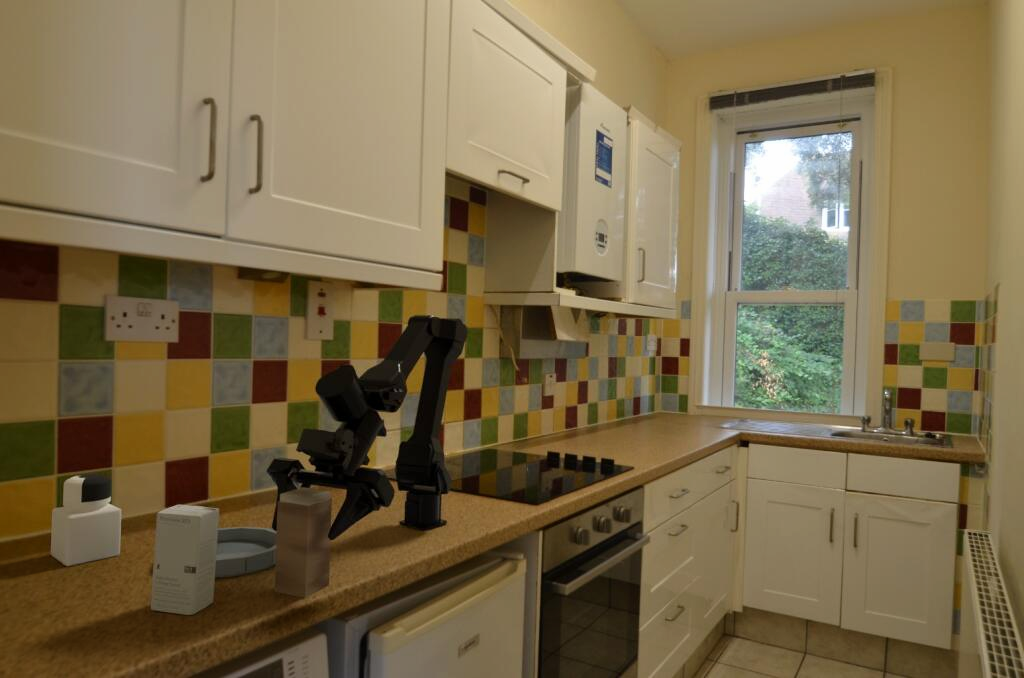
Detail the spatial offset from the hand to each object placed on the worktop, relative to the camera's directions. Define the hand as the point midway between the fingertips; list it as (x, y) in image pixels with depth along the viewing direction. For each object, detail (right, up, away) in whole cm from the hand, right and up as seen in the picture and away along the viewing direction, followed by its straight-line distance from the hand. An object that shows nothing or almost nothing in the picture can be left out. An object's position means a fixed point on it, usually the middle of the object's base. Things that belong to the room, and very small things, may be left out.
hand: (301, 534), depth 87 cm
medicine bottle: (-36, -7, +10) cm, 38 cm away
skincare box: (-13, -7, -7) cm, 16 cm away
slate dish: (-15, -7, +11) cm, 20 cm away
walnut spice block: (0, -8, 0) cm, 8 cm away
